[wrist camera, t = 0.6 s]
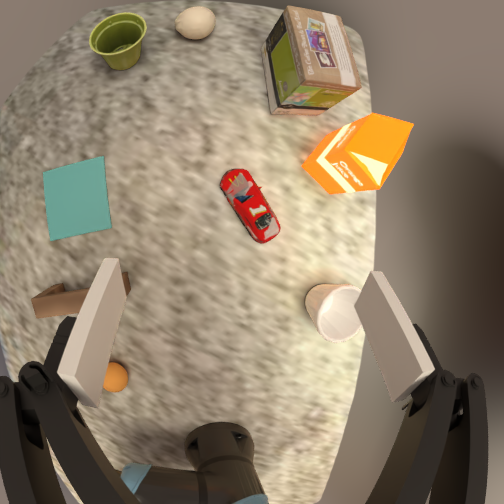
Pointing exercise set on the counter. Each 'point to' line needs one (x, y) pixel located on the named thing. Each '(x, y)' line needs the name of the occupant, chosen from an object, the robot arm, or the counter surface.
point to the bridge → (64, 300)
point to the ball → (115, 378)
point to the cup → (334, 311)
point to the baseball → (195, 22)
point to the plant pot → (119, 39)
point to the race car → (250, 205)
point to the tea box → (308, 63)
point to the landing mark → (76, 199)
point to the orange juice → (358, 154)
